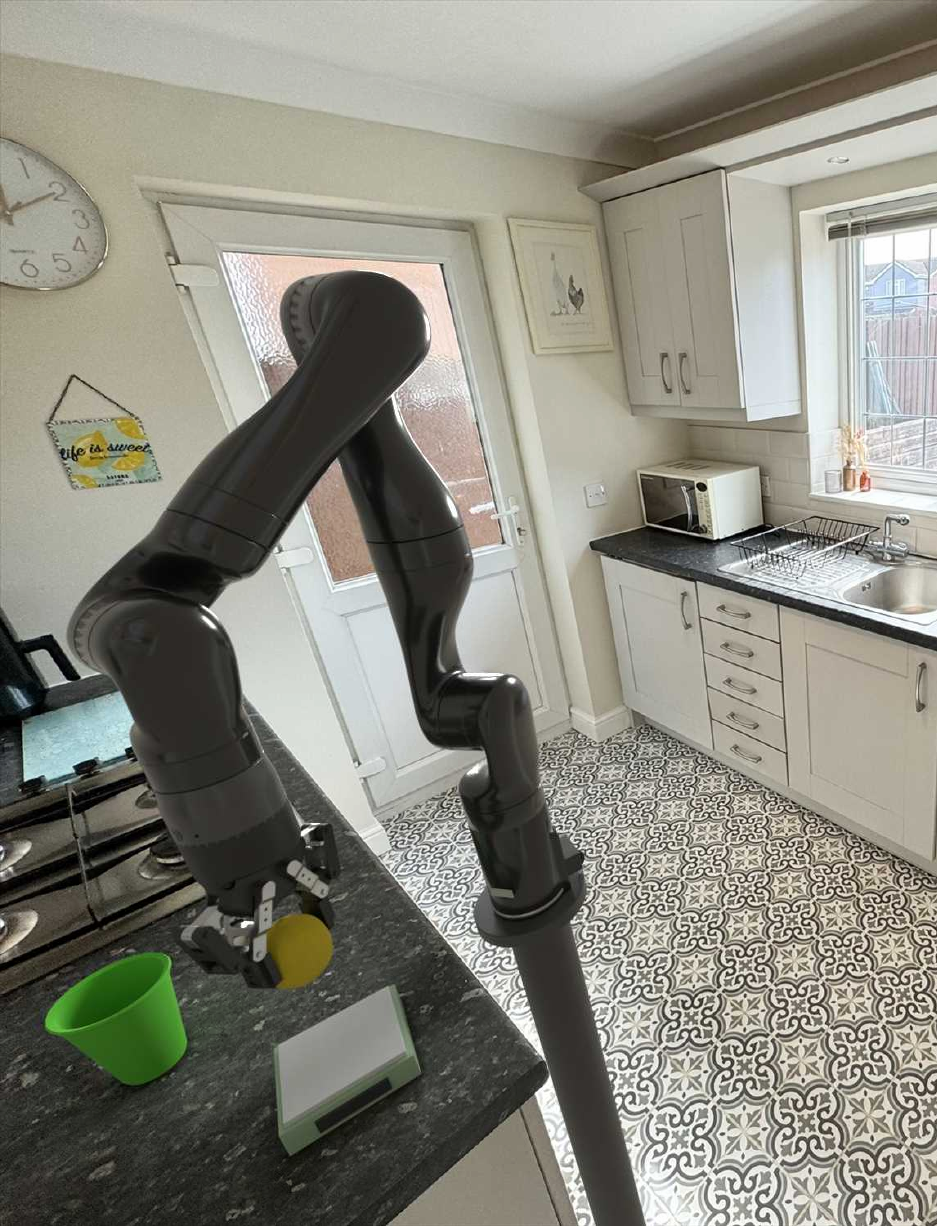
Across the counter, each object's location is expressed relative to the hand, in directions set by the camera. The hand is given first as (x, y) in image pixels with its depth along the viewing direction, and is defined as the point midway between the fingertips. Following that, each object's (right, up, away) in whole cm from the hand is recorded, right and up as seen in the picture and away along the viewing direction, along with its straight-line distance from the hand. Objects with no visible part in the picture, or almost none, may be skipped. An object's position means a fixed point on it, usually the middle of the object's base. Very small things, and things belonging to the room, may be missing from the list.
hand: (297, 954), depth 61 cm
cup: (-22, -16, +8) cm, 28 cm away
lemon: (0, -3, +1) cm, 4 cm away
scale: (+1, -16, +6) cm, 17 cm away
